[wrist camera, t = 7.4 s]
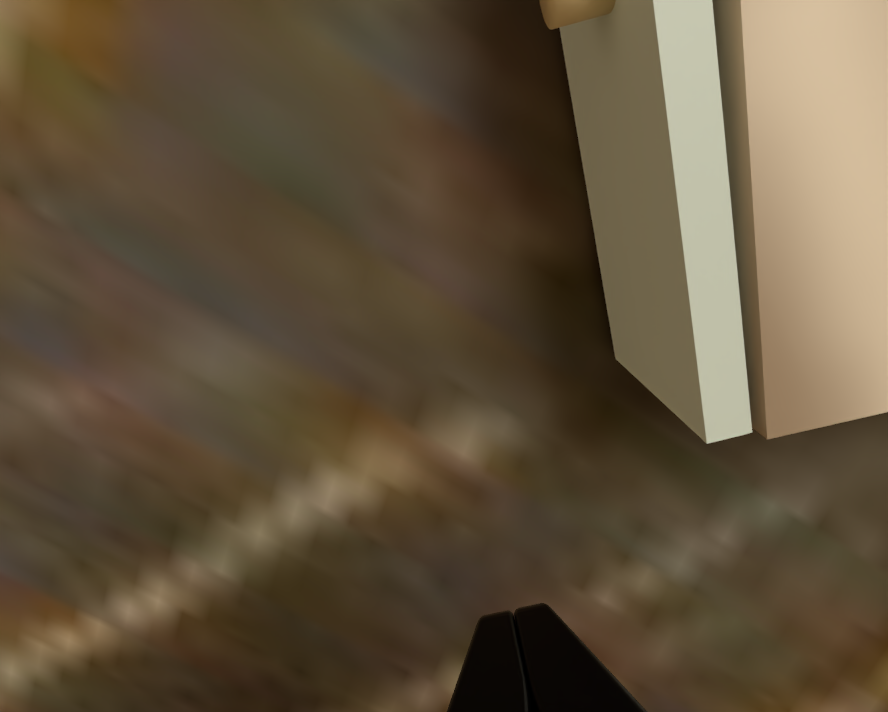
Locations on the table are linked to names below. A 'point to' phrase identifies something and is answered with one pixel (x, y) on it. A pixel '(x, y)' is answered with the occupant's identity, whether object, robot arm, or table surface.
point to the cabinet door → (660, 199)
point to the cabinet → (808, 204)
